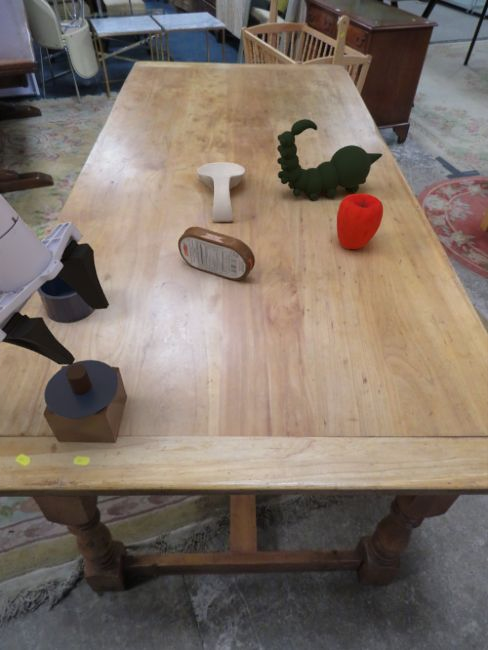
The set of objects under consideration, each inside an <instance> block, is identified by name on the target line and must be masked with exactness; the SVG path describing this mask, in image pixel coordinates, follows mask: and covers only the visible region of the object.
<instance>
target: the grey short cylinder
mask: <svg viewBox="0 0 488 650" xmlns="http://www.w3.org/2000/svg"><path fill="white" fill-rule="evenodd" d="M36 292H37V293H38V296H39V298H40V301H41V303H42V305H43V309H44V311H45V313H46V315H47V316H48V318H49V319H51V320H53V321H54V322H57V323H63V324H69V323H74V322H79V321H82V320H84V319H85V318H87V317H88V316H90V315H91V314H92V313H93V312H94V311H95V309H92V308H91V307H90V306H89V305H88V304H87V303H86V302H85V301H84V300H83V299H82V298H81V297H80V296H79V295H78V294H77V293H76V291H75V290H74V289H73V288H72V287H71V286H70V285H68V284H67V283H66V282H65V281H64V280H63V279H61V278H60V277H59V276H58V275H57V276H56V277H55V278H53V279H52V280H47V281H46V282H45V283H44V284H43V285H42V286H40V287H39V288H38V290H37V291H36Z"/></svg>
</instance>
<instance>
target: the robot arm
mask: <svg viewBox="0 0 488 650" xmlns="http://www.w3.org/2000/svg"><path fill="white" fill-rule="evenodd" d="M83 235H84V234H83V233H82V232H80V229H78V228H77V226H76V224H75V223H74V222H73V221H67V222H64V223H63V222H62V223H58V224H57V225H56V226H55V228H54V229H52V230H51V232H50V233H49V234H47V235H46V236H45V237H44V238H42V240H41V239H40V238H39V236H38V235H37V234H35V232H34V230H32V229H31V228H30V226H29V225H28V224H27V223H26V222H25V220H23V218H22V217H21V216H20V215H19V214H18V213H17V212H16V210H15V209H14V208H13V207H12V206H11V204H10V203H9V202H8V201H7V199H5V198H4V196H3V195H2V194H1V193H0V344H1V343H6V344H9V345H14V346H17V347H20V348H23V349H25V350H29V351H31V352H34V353H36V354H39V355H40V356H43V357H45V358H47V359H49V360H50V361H52V362H54V363H56V364H57V365H62V366H67V365H71V364H73V363H75V360H76V357H74V355H73V354H72V353H71V352H70V351H69V350H68V349H67V348H66V347H65V346H64V345H63V344H62V343H61V342H60V341H59V339H57V338H56V337H55V335H54V334H53V333H52V331H51V330H50V329H49V327H48V325H47V323H46V322H45V320H44V318H43V317H42V316H40V317H39V316H38V317H30V316H29V315H27V314H25V313H24V314H22V313H21V311H22V310H23V309H24V307H25V306H26V305H27V304H28V303H29V301H30V300H31V299H32V297H33V296H34V295H35V294H36V292H38V291H37V290H38V288H39V287H40V286H42V285H43V284H44V283H45V282H46V281H47V280H52V279H53V278H55V277H56V276H57V275H58V276H59V277H60V278H61V279H63V280H64V281H65V282H66V283H67V284H68V285H70V286H71V287H72V288H73V289H74V290H75V291H76V293H77V294H78V295H79V296H80V297H81V298H82V299H83V300H84V301H85V302H86V303H87V304H88V305H89V306H90V307H91V308H92V309H94V310H106V309H108V307H109V306H110V303H109V300H108V299H107V297H106V295H105V292H104V290H103V287H102V285H101V282H100V279H99V277H98V272H97V268H96V262H95V252H94V249H93V248H92V247H91V245H90V244H89V243H88V242H85V243H84V242H83V243H79V242H80V241H81V240H82V239H83Z"/></svg>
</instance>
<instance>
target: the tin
mask: <svg viewBox="0 0 488 650" xmlns="http://www.w3.org/2000/svg"><path fill="white" fill-rule="evenodd" d="M177 247H178V252H179V254H180V256H181V258H182V259H183V260H184V262H186V264H188V265H189V266H190V267H192V268H194V269H196V270H199V271H203V272H206V273H209V274H211V275H214V276H218V277H221V278H223V279H227V280H231V281H242V280H243V279H245V278H246V277H247V276H248V275H249V274H250V272H251V271H252V270H253V269H254V268H255V265H256V258H255V255H254V253H253V251H252V249H251V248H250V246H248V244H247V243H245V242H244V241H243V240H241V239H239V238H237V237H235V236H231V235H227V234H225V233H220V232H218V231H214V230H210V229H207V228H204V227H201V226H191V227H188V228H186V229H185V230H184V232H183V234H181V236H180V237H179V239H178V242H177Z"/></svg>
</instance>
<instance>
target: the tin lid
mask: <svg viewBox="0 0 488 650" xmlns="http://www.w3.org/2000/svg"><path fill="white" fill-rule="evenodd" d="M64 366H65V367H64V368H62V369H61V368H60V369H59V370H58V371H57V372H55V373H54V375H52V377H50V379H49V381H47V384H46V385H45V389H44V393H43V395H44V403H45V406H47V407H48V408H49V410H50V411H51V412H52V413H54V414H55V415H57V416H59V417H61V418H65V419H72V420H73V419H83V418H87V417H90V416H93V415H95V414H97V413H99V412H101V411H102V410H103V409H105V408H106V407H107V406H108V405H109V404H110V403H111V402H112V401H113V399H114V398H115V396H116V394H117V391H118V387H119V380H118V377H117V374H116V372H115V370H114V369H113V368H112V367H113V366H111V365H110V364H107V363H106V362H104V361H100V360H96V359H84V360H79V361H74V362H73V364H71V365H64Z"/></svg>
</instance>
